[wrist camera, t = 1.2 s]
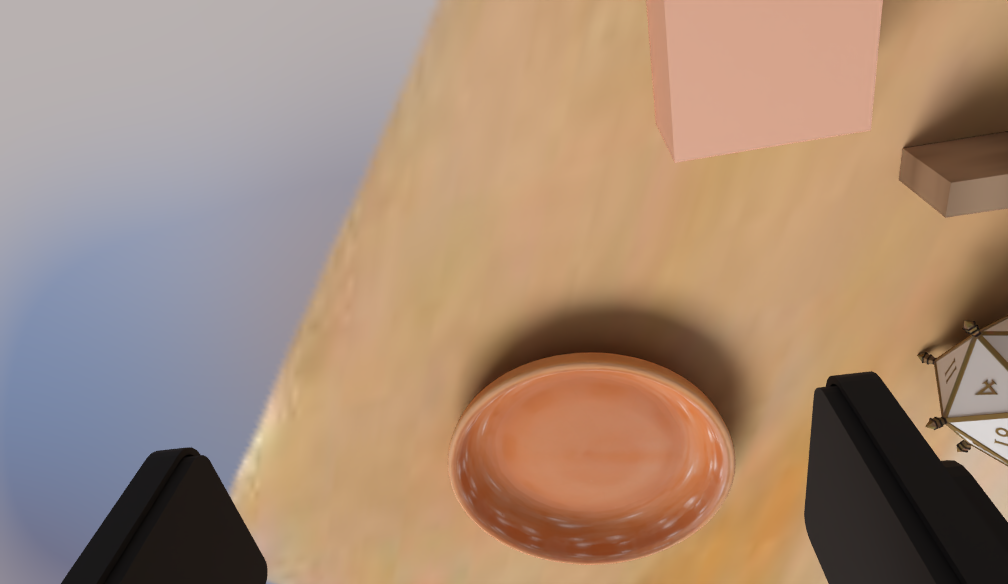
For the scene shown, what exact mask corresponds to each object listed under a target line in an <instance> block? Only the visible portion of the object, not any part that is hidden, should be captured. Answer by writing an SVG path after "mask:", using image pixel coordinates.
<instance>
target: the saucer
mask: <svg viewBox="0 0 1008 584" xmlns="http://www.w3.org/2000/svg"><path fill="white" fill-rule="evenodd" d="M448 473H449V478H450V482H451V486H452V489H453V491H454V494H455V496H456V498H457V500H458V502H459V504H460V505H461V507H462V509H463V510H464V511H465V513H466V514H467V515H468V516H469V517H470V518H471V520H472V521H473V522H474V523H475V524H476V525H477V526H479V527H480V528H481V529H482V530H483V531H485V532H486V533H487V534H489V535H490V536H491V537H493V538H494V539H496V540H497V541H499V542H501V543H502V544H504V545H506V546H508V547H510V548H512V549H515V550H517V551H519V552H522V553H524V554H527V555H530V556H533V557H537V558H541V559H545V560H549V561H555V562H561V563H569V564H581V565H598V564H612V563H619V562H625V561H631V560H635V559H639V558H643V557H646V556H649V555H652V554H655V553H658V552H660V551H663V550H665V549H667V548H670V547H672V546H674V545H676V544H678V543H680V542H682V541H683V540H685V539H686V538H688V537H690V536H691V535H693V534H694V533H695V532H697V531H698V530H699V529H701V528H702V527H703V526H704V525H705V524H706V523H707V522H709V520H710V519H711V518H712V517H713V516H714V515H715V514H716V513H717V511H718V510H719V509H720V507H721V506H722V504H723V503H724V501H725V499H726V498H727V496H728V494H729V491H730V489H731V486H732V483H733V479H734V474H735V452H734V446H733V442H732V439H731V436H730V433H729V431H728V429H727V426H726V425H725V423H724V421H723V419H722V417H721V416H720V414H719V412H718V411H717V409H716V408H715V406H714V405H713V404H712V402H711V401H710V400H709V399H708V398H707V397H706V395H705V394H704V393H703V392H701V391H700V390H699V389H698V388H697V387H696V386H695V385H693V384H692V383H691V382H689V381H688V380H687V379H685V378H683V377H682V376H680V375H679V374H677V373H675V372H673V371H671V370H669V369H667V368H665V367H662V366H660V365H658V364H655V363H652V362H649V361H646V360H643V359H639V358H635V357H630V356H625V355H619V354H611V353H594V352H588V353H571V354H563V355H557V356H552V357H548V358H543V359H540V360H536V361H533V362H530V363H527V364H524V365H522V366H520V367H517V368H515V369H513V370H511V371H509V372H507V373H505V374H504V375H502V376H501V377H499V378H497V379H496V380H494V381H493V382H492V383H490V384H489V385H488V386H486V387H485V388H484V389H483V390H482V391H481V392H480V393H478V394H477V395H476V397H475V398H474V399H473V400H472V401H471V402H470V404H469V405H468V406H467V407H466V409H465V411H464V412H463V414H462V416H461V417H460V419H459V421H458V423H457V426H456V428H455V430H454V433H453V436H452V438H451V442H450V446H449V452H448Z"/></svg>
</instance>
